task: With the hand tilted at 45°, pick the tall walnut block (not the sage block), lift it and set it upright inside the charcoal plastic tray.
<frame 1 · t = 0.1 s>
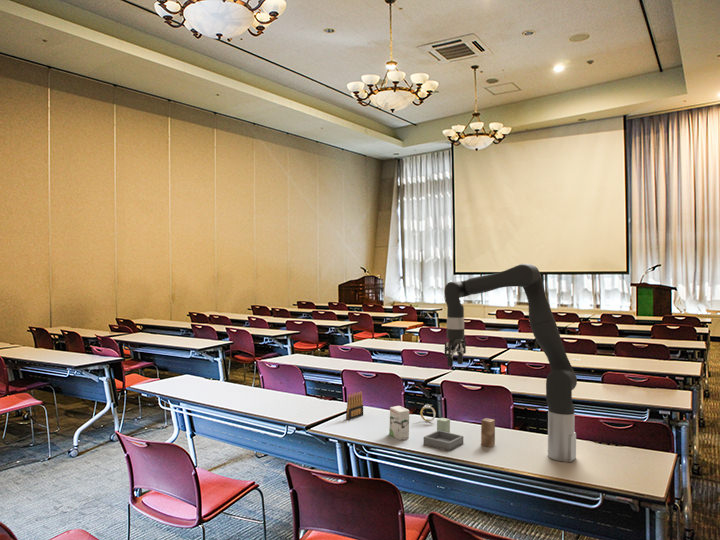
hand: (455, 365, 217), 29 cm above the table, tool pointing down, fingers open, 8 cm apart
ink box: (399, 436, 211), on the table
walnut block: (487, 444, 202), on the table
ammunition clip: (354, 417, 238), on the table
sage block: (443, 433, 216), on the table
ring: (427, 422, 232), on the table
desk tray: (443, 443, 202), on the table
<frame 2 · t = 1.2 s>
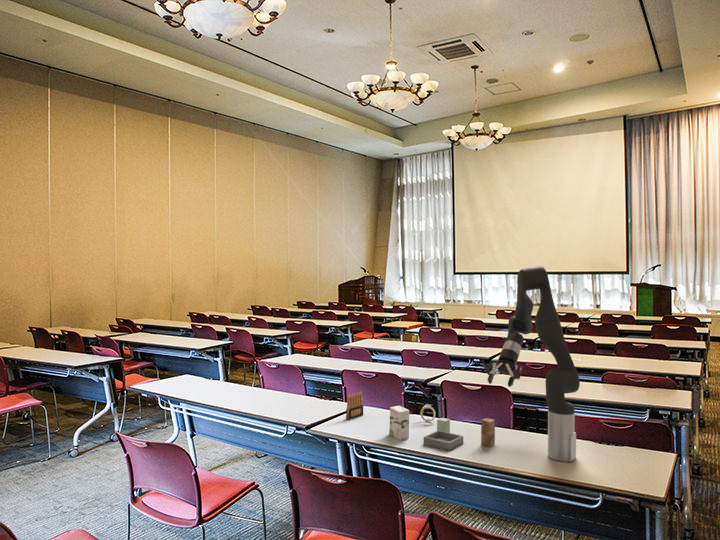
hand: (499, 384, 210), 23 cm above the table, tool tilted 45°, fingers open, 8 cm apart
nothing on the table moved.
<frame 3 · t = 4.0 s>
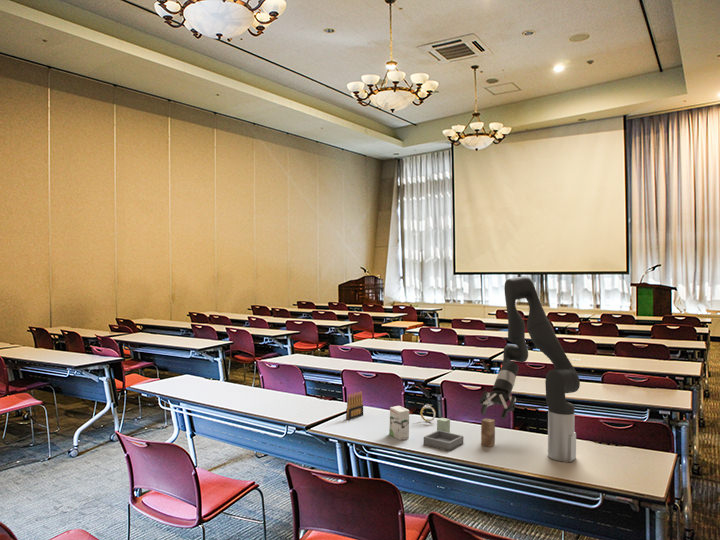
hand: (492, 416, 205), 11 cm above the table, tool tilted 45°, fingers open, 8 cm apart
nothing on the table moved.
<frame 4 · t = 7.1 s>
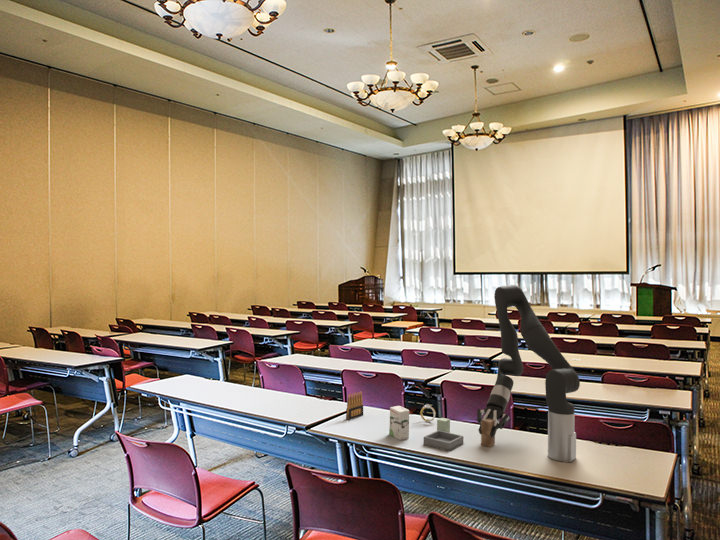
hand: (485, 434, 200), 5 cm above the table, tool tilted 45°, fingers closed on walnut block, 4 cm apart
walnut block: (487, 444, 202), on the table, touching gripper
everything else where it was.
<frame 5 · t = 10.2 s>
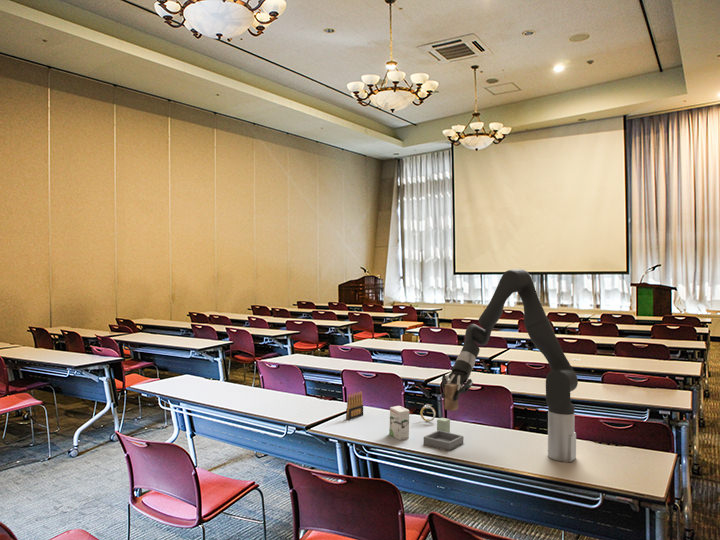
hand: (448, 398, 201), 18 cm above the table, tool tilted 45°, fingers closed on walnut block, 4 cm apart
walnut block: (451, 409, 203), point 14 cm above the table, touching gripper
everything else where it was.
when the fingers open (6 cm above the table, at t = 13.6 s): walnut block stays where it is, resting on desk tray.
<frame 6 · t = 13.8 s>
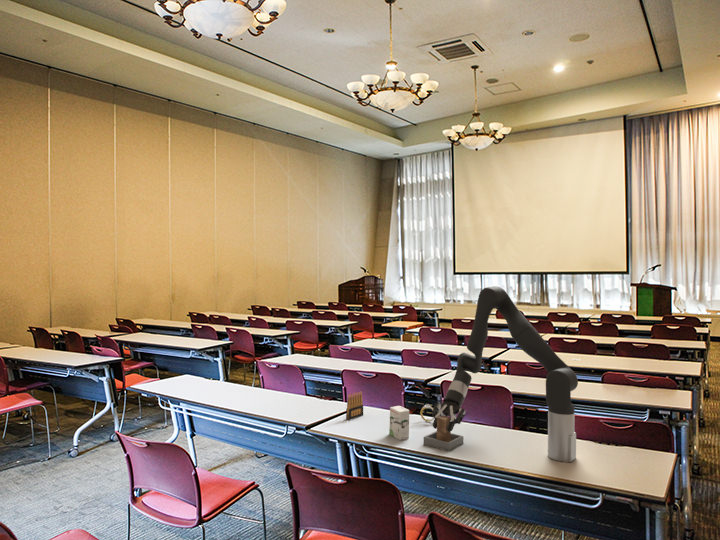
hand: (441, 429, 201), 6 cm above the table, tool tilted 45°, fingers open, 6 cm apart
walnut block: (443, 442, 202), point 1 cm above the table, touching desk tray
everything else where it was.
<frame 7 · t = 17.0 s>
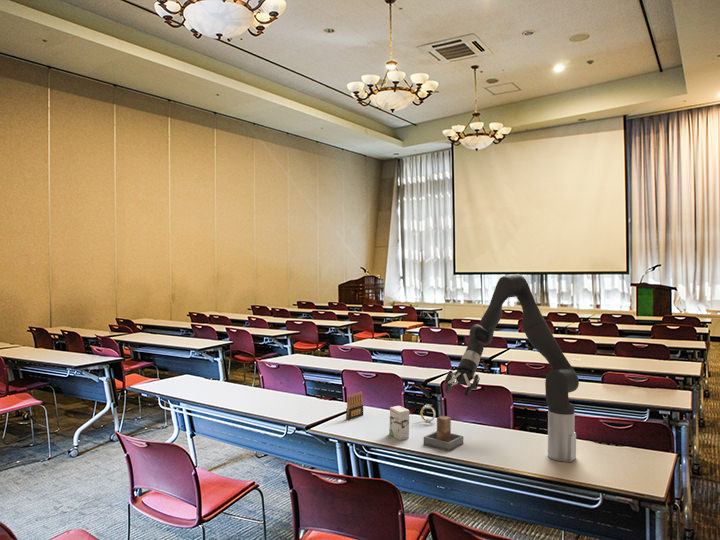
hand: (456, 394, 210), 18 cm above the table, tool tilted 45°, fingers open, 8 cm apart
nothing on the table moved.
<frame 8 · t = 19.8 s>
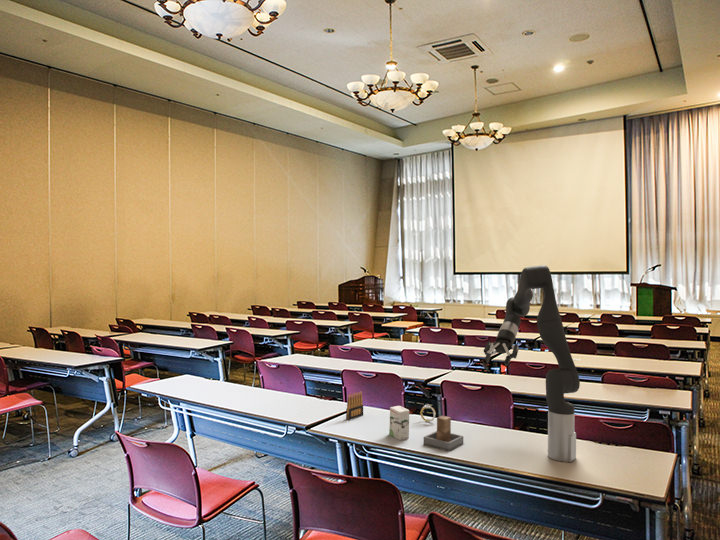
hand: (496, 363, 214), 31 cm above the table, tool tilted 45°, fingers open, 8 cm apart
nothing on the table moved.
at the end: walnut block 0.1 cm off-centre on the desk tray, point 0.6 cm above the desk tray's base; walnut block tilted 0°; the gripper is holding nothing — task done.
